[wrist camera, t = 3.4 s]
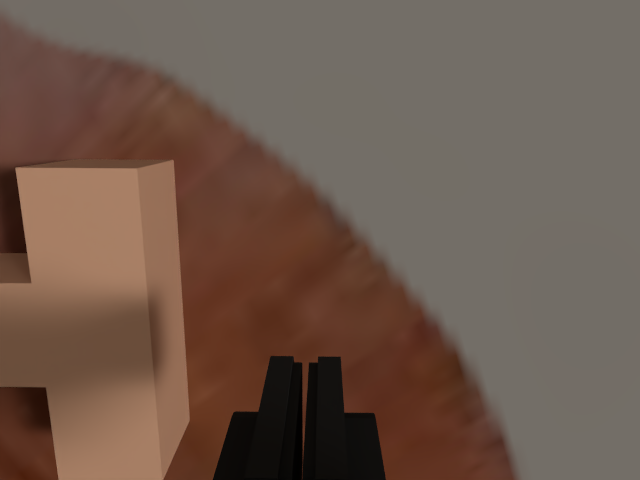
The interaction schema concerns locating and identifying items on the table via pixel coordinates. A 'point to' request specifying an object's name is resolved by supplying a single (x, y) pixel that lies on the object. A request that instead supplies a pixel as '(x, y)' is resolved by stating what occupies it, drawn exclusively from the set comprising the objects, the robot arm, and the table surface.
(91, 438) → the t block
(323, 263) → the table surface
